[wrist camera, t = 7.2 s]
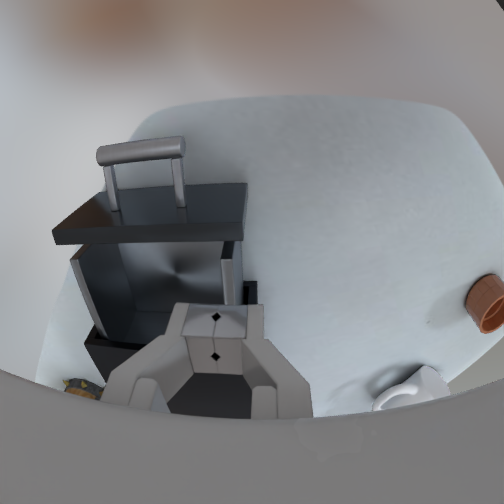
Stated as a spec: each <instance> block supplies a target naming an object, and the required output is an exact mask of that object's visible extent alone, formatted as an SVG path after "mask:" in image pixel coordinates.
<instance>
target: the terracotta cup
mask: <svg viewBox="0 0 504 504" xmlns="http://www.w3.org/2000/svg"><path fill="white" fill-rule="evenodd" d="M466 310H467V312H468V313H469V315H470V316H471V318H472V319H473V321H474V322H475V324H476V325H477V327H478V328H479V330H480V331H481V332H482V333H485V334H487V333H491V332H493V331H495V330H497V329H498V328H499V327H501V326H502V325H503V324H504V282H503V281H502V280H501V278H500V277H498V276H497V275H489V276H486V277H483V278H482V279H480V280H479V281H478V282H477V283H476V284H475V285H474V286H473V287H472V289H471V291H470V292H469V294H468V297H467V301H466Z"/></svg>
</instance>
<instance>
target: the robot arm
mask: <svg viewBox="0 0 504 504" xmlns="http://www.w3.org/2000/svg"><path fill="white" fill-rule="evenodd" d="M193 372H195V373H220V374H236V375H243V377H244V378H245V380H246V382H247V383H248V385H249V386H250V388H251V389H252V406H251V419H234V418H215V417H202V416H191V415H181V414H173V413H171V412H170V410H169V408H168V406H167V402H168V401H169V400H170V399H171V398H172V397H173V396H174V395H175V394H176V393H177V392H178V391H179V389H180V388H181V387H182V386H183V385H184V384H185V383H186V382H187V381H188V380H189V378H190V377H191V376H192V375H193V374H194V373H193ZM0 504H504V378H503V379H500V380H498V381H495V382H492V383H489V384H486V385H483V386H480V387H477V388H474V389H470V390H467V391H464V392H460V393H457V394H453V395H450V396H446V397H442V398H438V399H434V400H430V401H425V402H421V403H416V404H412V405H407V406H401V407H396V408H390V409H384V410H378V411H371V412H364V413H356V414H348V415H338V416H327V417H314V418H313V410H312V401H311V393H310V384H309V383H308V382H307V381H306V380H305V379H304V378H303V377H302V376H301V375H300V373H299V372H298V371H297V370H296V369H295V368H294V367H293V366H292V365H291V364H290V363H289V361H288V360H287V359H286V358H285V357H284V356H283V355H282V354H281V353H280V352H279V351H278V349H277V348H276V347H275V346H274V345H273V344H272V343H271V342H270V341H269V339H264V306H263V304H257V305H219V304H200V303H179V302H177V303H176V304H175V305H174V308H173V311H172V314H171V317H170V320H169V322H168V325H167V328H166V331H165V334H164V335H159V336H158V337H157V338H155V339H154V340H153V341H151V342H150V343H149V344H147V345H146V346H145V347H143V348H142V349H141V350H139V351H138V352H137V353H135V354H134V355H133V356H131V357H130V358H129V359H127V360H126V361H125V362H123V363H122V364H121V365H119V366H118V367H117V368H115V369H114V370H113V371H111V374H110V376H109V378H108V381H107V383H106V386H105V388H104V391H103V393H102V396H101V399H100V401H99V400H95V399H90V398H86V397H82V396H79V395H75V394H71V393H68V392H64V391H61V390H57V389H54V388H51V387H48V386H44V385H41V384H38V383H35V382H32V381H30V380H27V379H24V378H21V377H19V376H16V375H13V374H11V373H8V372H6V371H3V370H1V369H0Z"/></svg>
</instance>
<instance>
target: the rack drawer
mask: <svg viewBox="0 0 504 504" xmlns="http://www.w3.org/2000/svg"><path fill="white" fill-rule="evenodd" d="M185 150H186V146H185V140H184V137H183V136H173V137H164V138H155V139H147V140H139V141H132V142H125V143H118V144H113V145H106V146H101V147H99V148H98V149H97V153H96V159H97V163H98V164H99V165H100V166H104V167H103V170H104V176H105V182H106V187H107V191H106V192H99V193H98V194H96V195H95V196H93V197H92V198H91V199H89V200H88V201H87V202H86V203H84V204H83V205H82V206H80V208H78V209H77V210H75V211H74V212H73V213H72V214H71V215H69V216H68V217H67V218H66V219H65V220H63V221H62V222H61V223H60V224H58V225H57V226H56V227H55V228H54V229H53V230H52V234H53V237H54V240H55V243H56V245H75V244H84V245H83V246H82V247H81V248H80V249H79V250H78V251H77V252H76V253H75V254H74V256H73V257H72V258H71V259H70V262H71V265H72V268H73V271H74V274H75V277H76V279H77V282H78V285H79V287H80V290H81V292H82V295H83V297H84V300H85V302H86V305H87V307H88V310H89V312H90V314H91V317H92V319H93V321H94V323H95V326H96V328H97V330H98V332H99V334H100V337H101V339H102V340H110V341H119V342H129V343H139V344H149V343H150V342H151V341H153V340H154V339H155V338H157V337H158V336H159V335H164V334H165V331H166V328H167V325H168V322H169V320H170V317H171V314H172V311H173V308H174V305H175V304H176V303H177V302H179V303H200V304H219V305H244V291H243V271H242V251H241V241H243V238H244V228H245V219H246V209H247V200H248V184H247V183H222V184H198V185H185V182H184V172H183V162H182V157H184V155H185ZM170 158H172V159H171V164H172V173H173V182H174V186H163V187H150V188H137V189H126V190H118V189H117V184H116V178H115V171H114V165H115V164H123V163H131V162H140V161H149V160H159V159H170Z"/></svg>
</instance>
